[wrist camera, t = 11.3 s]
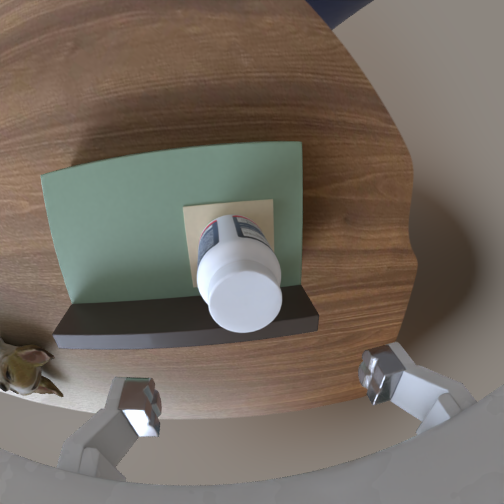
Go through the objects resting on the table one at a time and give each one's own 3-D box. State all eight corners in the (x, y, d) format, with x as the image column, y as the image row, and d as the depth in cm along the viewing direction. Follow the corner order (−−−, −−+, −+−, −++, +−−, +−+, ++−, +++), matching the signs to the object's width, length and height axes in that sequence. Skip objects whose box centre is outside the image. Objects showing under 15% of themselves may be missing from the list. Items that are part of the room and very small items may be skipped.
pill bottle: (209, 280, 24) (210, 351, 16) (190, 223, 22) (180, 274, 14) (270, 264, 24) (299, 328, 16) (257, 205, 22) (285, 247, 14)
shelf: (69, 166, 24) (6, 186, 14) (283, 140, 26) (326, 143, 16) (95, 288, 29) (58, 348, 19) (285, 271, 32) (317, 331, 22)
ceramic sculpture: (-41, 348, 20) (40, 384, 24) (-16, 313, 28) (59, 340, 32) (-19, 395, 24) (56, 426, 28) (-2, 361, 31) (67, 386, 36)
